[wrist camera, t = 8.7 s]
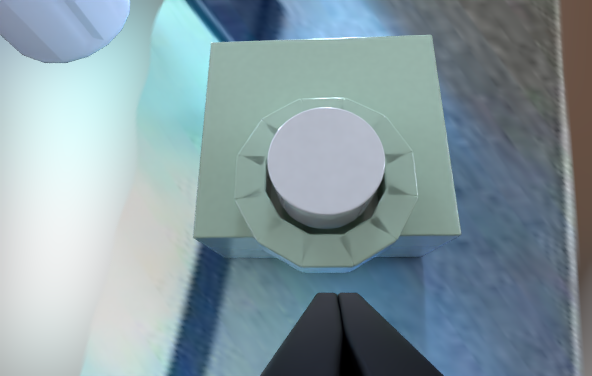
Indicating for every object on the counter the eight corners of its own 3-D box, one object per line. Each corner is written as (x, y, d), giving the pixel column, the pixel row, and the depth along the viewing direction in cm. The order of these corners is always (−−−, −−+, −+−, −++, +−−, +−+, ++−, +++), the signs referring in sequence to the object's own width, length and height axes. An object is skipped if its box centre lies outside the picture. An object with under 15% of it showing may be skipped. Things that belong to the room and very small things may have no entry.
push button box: (426, 284, 20) (488, 266, 13) (222, 284, 20) (172, 268, 13) (405, 98, 23) (444, 4, 16) (234, 103, 24) (200, 14, 17)
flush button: (379, 228, 14) (390, 214, 12) (272, 229, 14) (265, 216, 12) (372, 132, 15) (381, 104, 13) (274, 134, 15) (268, 108, 13)
